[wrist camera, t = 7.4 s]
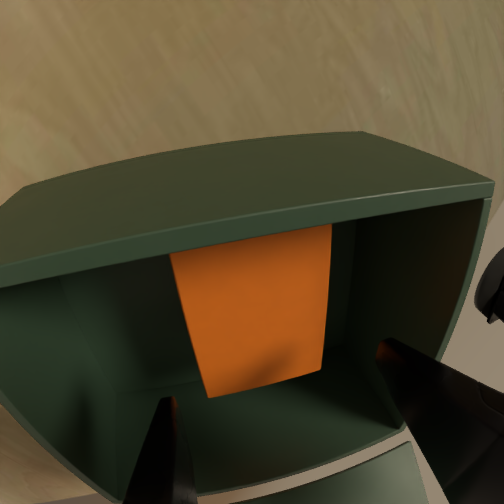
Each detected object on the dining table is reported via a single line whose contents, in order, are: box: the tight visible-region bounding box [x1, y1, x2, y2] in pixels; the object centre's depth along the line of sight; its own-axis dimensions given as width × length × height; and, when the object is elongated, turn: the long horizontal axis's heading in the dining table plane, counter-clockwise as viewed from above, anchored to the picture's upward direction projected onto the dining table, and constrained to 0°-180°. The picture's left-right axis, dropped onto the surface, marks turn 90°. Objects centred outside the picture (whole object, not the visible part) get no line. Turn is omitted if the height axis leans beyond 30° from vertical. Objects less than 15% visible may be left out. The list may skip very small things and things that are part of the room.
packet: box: [169, 224, 332, 398], centre depth 13 cm, size 5×7×4 cm
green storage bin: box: [0, 131, 495, 504], centre depth 12 cm, size 15×13×8 cm
